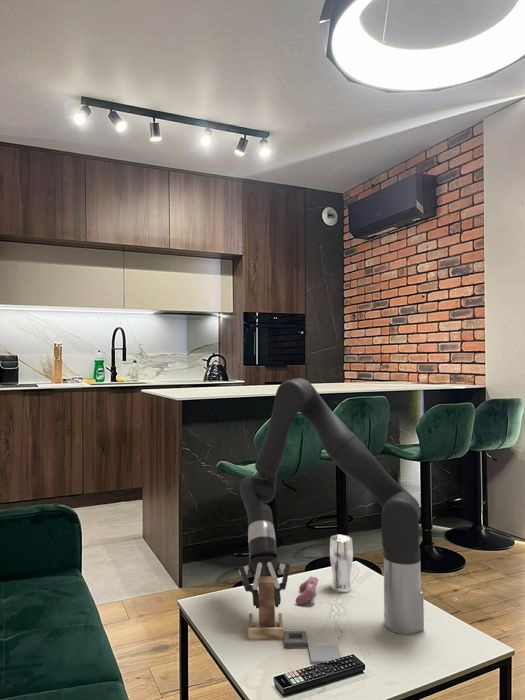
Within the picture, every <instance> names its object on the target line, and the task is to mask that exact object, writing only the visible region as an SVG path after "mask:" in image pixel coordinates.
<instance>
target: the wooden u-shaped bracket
mask: <svg viewBox="0 0 525 700" xmlns="http://www.w3.org/2000/svg"><path fill="white" fill-rule="evenodd" d="M247 628H248V640H284V621H283V613H282V612H279V613H278V626H277V627H276V626H275V627H259V626H258V627H257V626H256V627H255V626H254V627H253V613H252V612H251V613H248V627H247Z"/></svg>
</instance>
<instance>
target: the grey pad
mask: <svg viewBox="0 0 525 700" xmlns="http://www.w3.org/2000/svg"><path fill="white" fill-rule="evenodd" d="M339 648H340V647H339V645H338V644H308V648H307V649H308V653H309V659H310V665H321V664H320V663H324V662H328V661H331V660H334V659H338V658H342V655H341V651H340V649H339Z"/></svg>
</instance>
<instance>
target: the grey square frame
mask: <svg viewBox="0 0 525 700" xmlns="http://www.w3.org/2000/svg"><path fill="white" fill-rule="evenodd" d="M290 639H291V640H290ZM297 639H299V640H297ZM283 644H284V645H283V646H284V649H308V645H309V640H308V634H307V630H283Z"/></svg>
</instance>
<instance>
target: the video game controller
mask: <svg viewBox="0 0 525 700" xmlns="http://www.w3.org/2000/svg"><path fill="white" fill-rule="evenodd" d="M318 582H319V578H317V577H316V576H313V575H311V576H310V577H308V579H307V580H305V581H304V582H302V583H301V585H299V588H298V589H299V592H301V593H300V594H299V595H297V596H296V598H295V603H296V605H299V606H300V605H304V604H306V603H307V602H310V601H311V600H312V599H313V597H316V596H317V593H318V592H316V591H317V585H318Z"/></svg>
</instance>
